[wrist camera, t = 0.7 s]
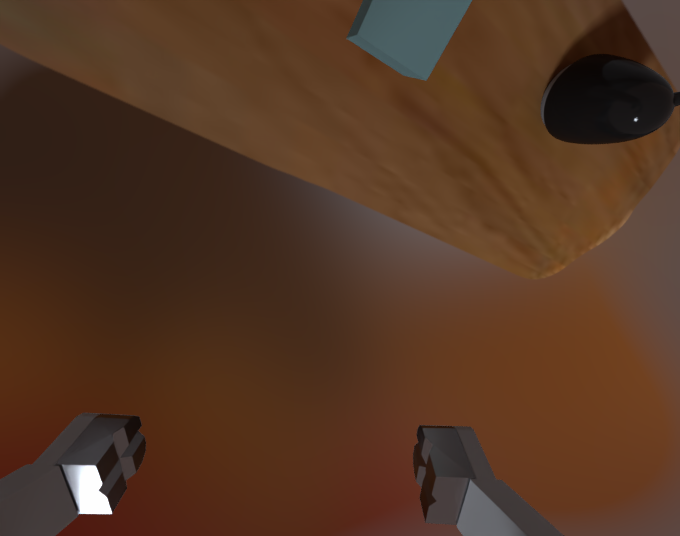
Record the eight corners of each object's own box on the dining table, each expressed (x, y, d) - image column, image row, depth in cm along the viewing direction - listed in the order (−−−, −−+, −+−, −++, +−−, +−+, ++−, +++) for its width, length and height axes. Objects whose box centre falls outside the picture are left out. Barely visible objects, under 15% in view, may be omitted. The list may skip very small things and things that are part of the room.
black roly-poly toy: (600, 119, 49) (704, 143, 36) (529, 146, 50) (606, 177, 37) (606, 40, 43) (732, 34, 31) (526, 71, 45) (615, 79, 32)
